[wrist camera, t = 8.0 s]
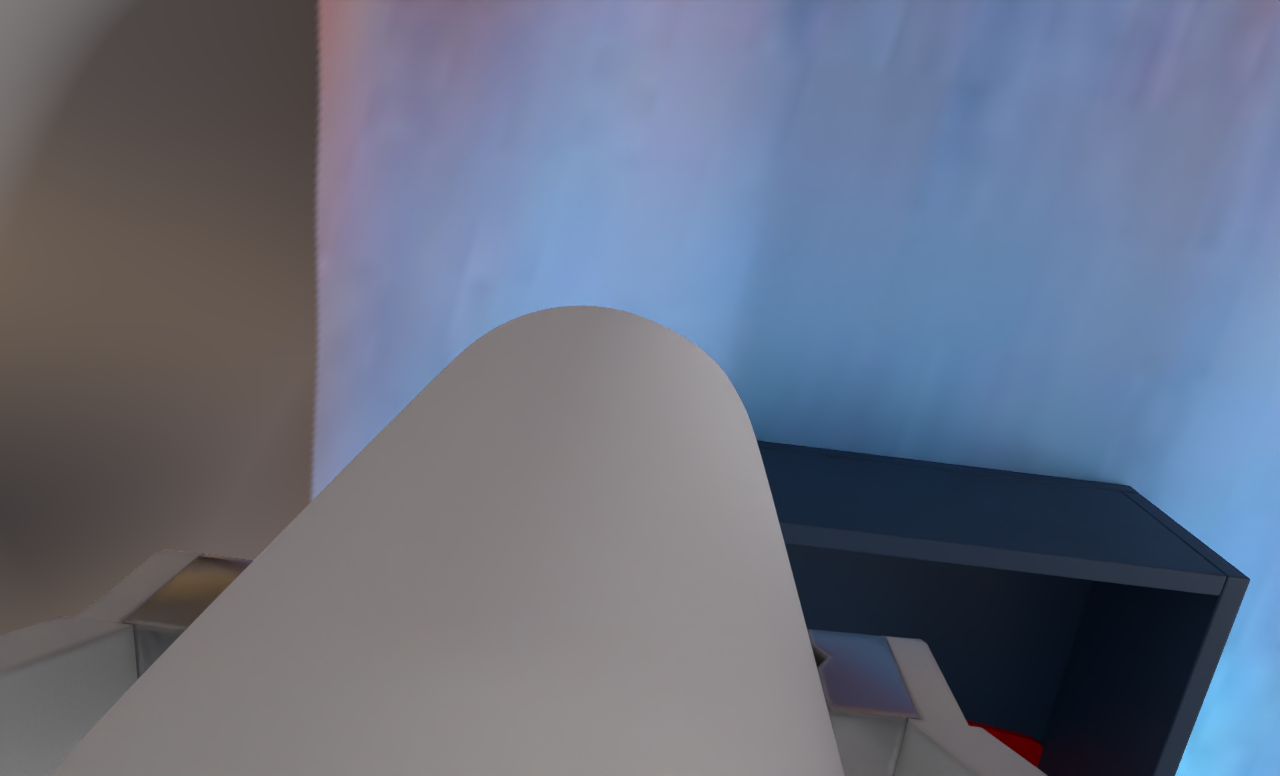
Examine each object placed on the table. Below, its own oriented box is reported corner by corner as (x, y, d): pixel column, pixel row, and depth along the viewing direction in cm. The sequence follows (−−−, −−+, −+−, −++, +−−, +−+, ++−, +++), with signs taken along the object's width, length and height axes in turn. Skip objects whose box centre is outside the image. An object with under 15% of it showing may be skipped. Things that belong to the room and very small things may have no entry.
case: (719, 435, 30) (731, 516, 24) (1130, 485, 30) (1251, 579, 24) (674, 730, 34) (674, 866, 28) (1037, 775, 34) (1119, 921, 28)
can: (827, 427, 15) (1280, 1310, 4) (632, 664, 17) (540, 1760, 6) (537, 227, 14) (-8, 596, 3) (363, 499, 16) (-404, 1393, 5)
